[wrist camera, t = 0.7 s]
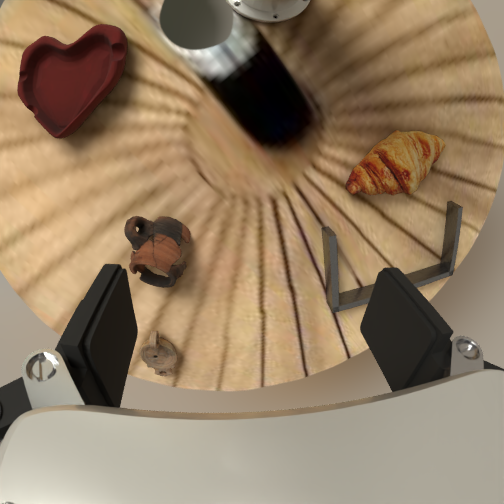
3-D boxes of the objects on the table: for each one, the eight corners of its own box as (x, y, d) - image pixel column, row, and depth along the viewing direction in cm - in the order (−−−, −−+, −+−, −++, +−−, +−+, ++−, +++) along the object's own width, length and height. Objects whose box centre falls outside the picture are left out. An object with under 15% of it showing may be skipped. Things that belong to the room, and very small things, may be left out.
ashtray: (29, 139, 33) (12, 144, 29) (38, 45, 26) (22, 41, 22) (123, 134, 36) (111, 137, 32) (137, 28, 29) (127, 19, 24)
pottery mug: (207, 241, 45) (194, 286, 41) (168, 253, 50) (153, 294, 45) (154, 190, 38) (130, 237, 33) (118, 211, 43) (96, 253, 38)
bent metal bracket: (321, 227, 46) (328, 236, 43) (451, 200, 46) (462, 207, 43) (326, 301, 53) (332, 313, 50) (443, 266, 53) (452, 274, 50)
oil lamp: (179, 367, 57) (178, 385, 53) (146, 364, 56) (142, 382, 52) (176, 322, 52) (174, 341, 47) (138, 319, 51) (132, 337, 46)
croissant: (421, 123, 42) (440, 106, 34) (448, 171, 42) (471, 161, 34) (327, 167, 44) (336, 153, 36) (357, 223, 44) (372, 219, 36)
